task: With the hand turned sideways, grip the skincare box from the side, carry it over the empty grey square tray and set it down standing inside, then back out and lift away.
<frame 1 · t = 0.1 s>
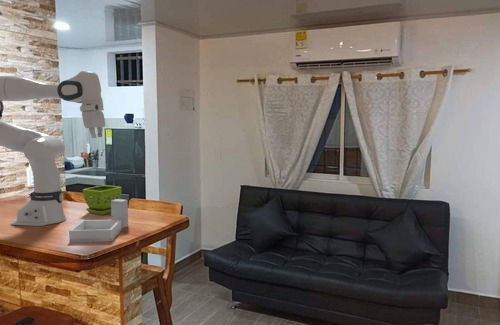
hand: (97, 137, 183), 39 cm above the table, tool pointing down, fingers open, 8 cm apart
skincare box: (120, 227, 176), on the table
grey square tray: (96, 235, 163), on the table
flower pot: (103, 212, 203), on the table
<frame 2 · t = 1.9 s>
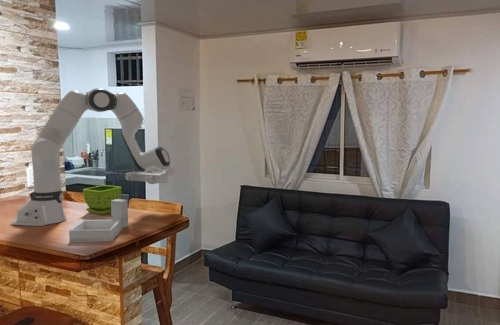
hand: (136, 179, 186), 20 cm above the table, tool horizontal, fingers open, 8 cm apart
nothing on the table moved.
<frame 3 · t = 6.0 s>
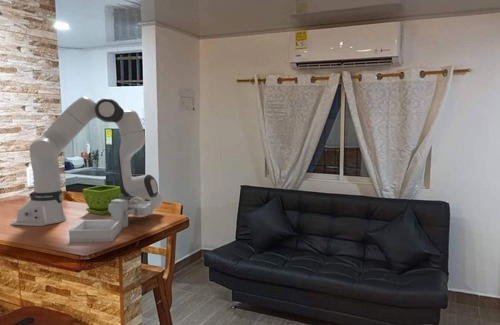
hand: (118, 212, 175), 7 cm above the table, tool horizontal, fingers closed on skincare box, 6 cm apart
skincare box: (120, 227, 176), on the table, touching gripper
everything else where it was.
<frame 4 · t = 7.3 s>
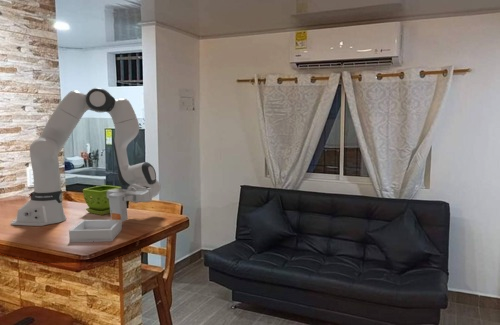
hand: (116, 198, 174), 13 cm above the table, tool horizontal, fingers closed on skincare box, 6 cm apart
skincare box: (119, 220, 177), point 3 cm above the table, touching gripper
everything else where it was.
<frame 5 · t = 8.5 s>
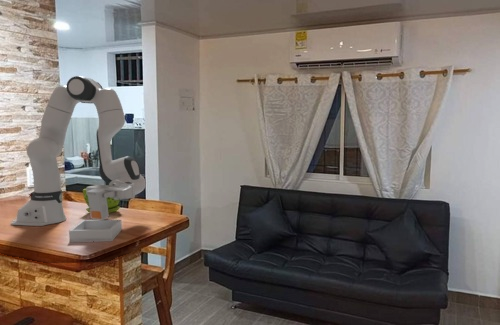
hand: (96, 194, 162), 17 cm above the table, tool horizontal, fingers closed on skincare box, 6 cm apart
skincare box: (100, 218, 164), point 7 cm above the table, touching gripper
everything else where it was.
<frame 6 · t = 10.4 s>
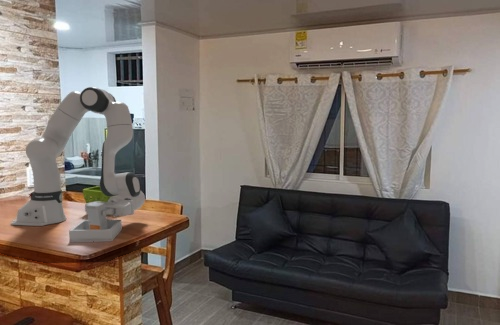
hand: (95, 212, 161), 10 cm above the table, tool horizontal, fingers closed on skincare box, 6 cm apart
skincare box: (99, 232, 164), point 1 cm above the table, touching grey square tray, gripper
everything else where it was.
when the fingers open (10 cm above the table, at t = 10.6 s): skincare box stays where it is, resting on grey square tray.
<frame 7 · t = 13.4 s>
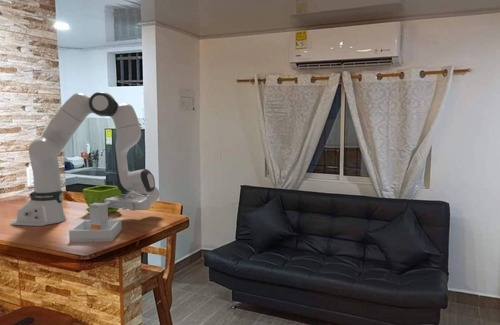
hand: (114, 206, 172), 10 cm above the table, tool horizontal, fingers open, 8 cm apart
skincare box: (99, 233, 164), point 1 cm above the table, touching grey square tray
everything else where it was.
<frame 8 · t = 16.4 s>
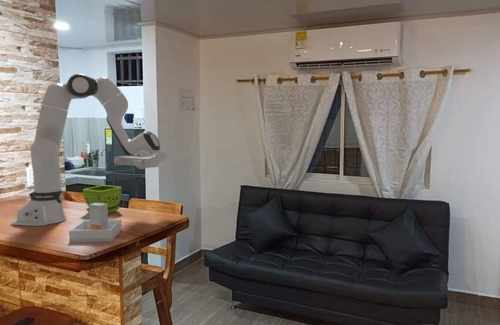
hand: (124, 162, 178), 28 cm above the table, tool horizontal, fingers open, 8 cm apart
nothing on the table moved.
at the end: skincare box inside the target area on the grey square tray (1.1 cm from its centre), point 0.8 cm above the grey square tray's base; skincare box tilted 0°; the gripper is holding nothing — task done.
